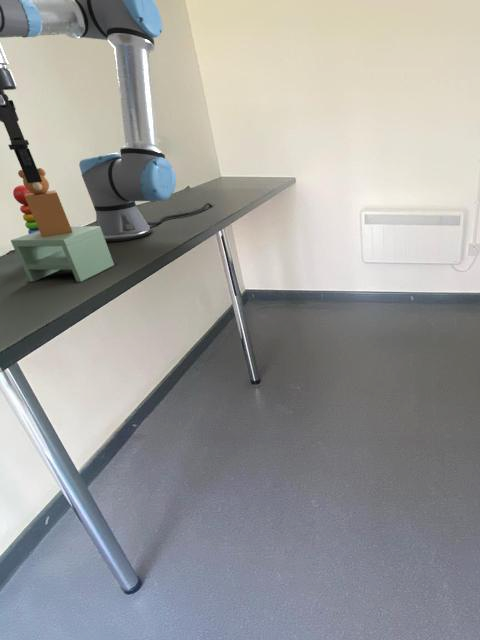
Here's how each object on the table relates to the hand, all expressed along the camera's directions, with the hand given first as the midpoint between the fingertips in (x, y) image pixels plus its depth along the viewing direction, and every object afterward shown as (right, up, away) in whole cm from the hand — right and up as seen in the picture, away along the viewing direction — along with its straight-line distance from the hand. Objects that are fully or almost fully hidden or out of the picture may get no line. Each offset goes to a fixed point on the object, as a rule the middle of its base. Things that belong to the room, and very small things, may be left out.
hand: (33, 179), depth 111 cm
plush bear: (+1, -10, +7) cm, 12 cm away
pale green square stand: (+1, -18, +12) cm, 22 cm away
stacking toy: (-15, -10, +27) cm, 32 cm away
